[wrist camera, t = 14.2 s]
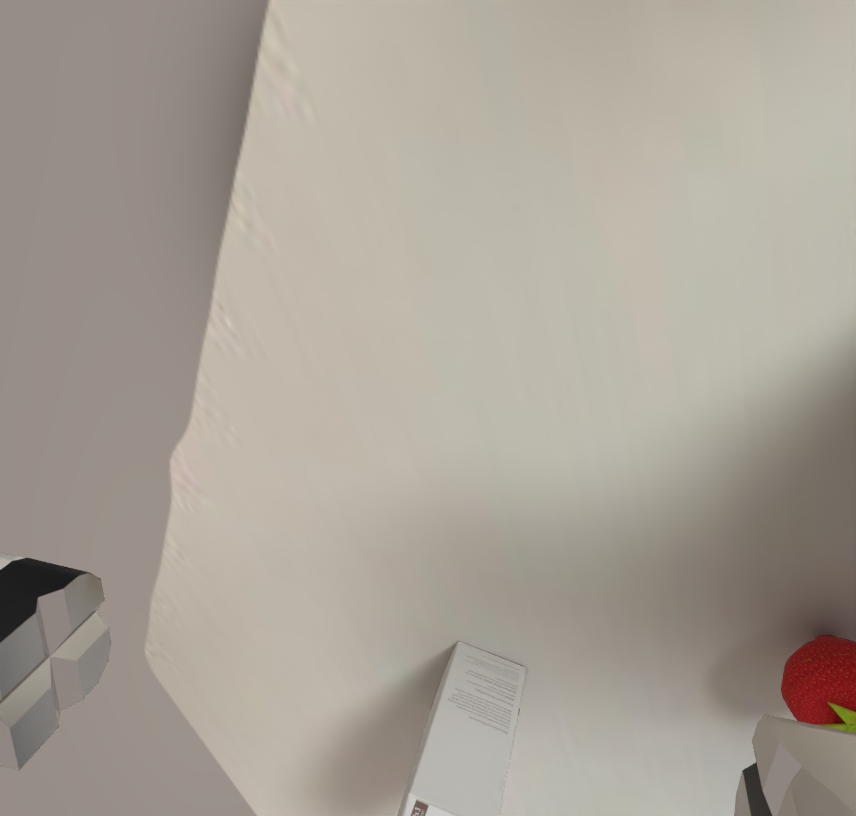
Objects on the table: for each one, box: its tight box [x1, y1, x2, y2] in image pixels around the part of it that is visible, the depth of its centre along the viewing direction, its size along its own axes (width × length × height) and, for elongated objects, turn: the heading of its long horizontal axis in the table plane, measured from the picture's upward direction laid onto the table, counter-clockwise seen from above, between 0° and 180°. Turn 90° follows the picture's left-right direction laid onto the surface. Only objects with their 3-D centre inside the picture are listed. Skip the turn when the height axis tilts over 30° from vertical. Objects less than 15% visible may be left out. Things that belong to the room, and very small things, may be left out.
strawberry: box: [781, 635, 856, 733], centre depth 44 cm, size 6×8×10 cm
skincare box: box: [398, 642, 527, 816], centre depth 50 cm, size 8×6×15 cm
